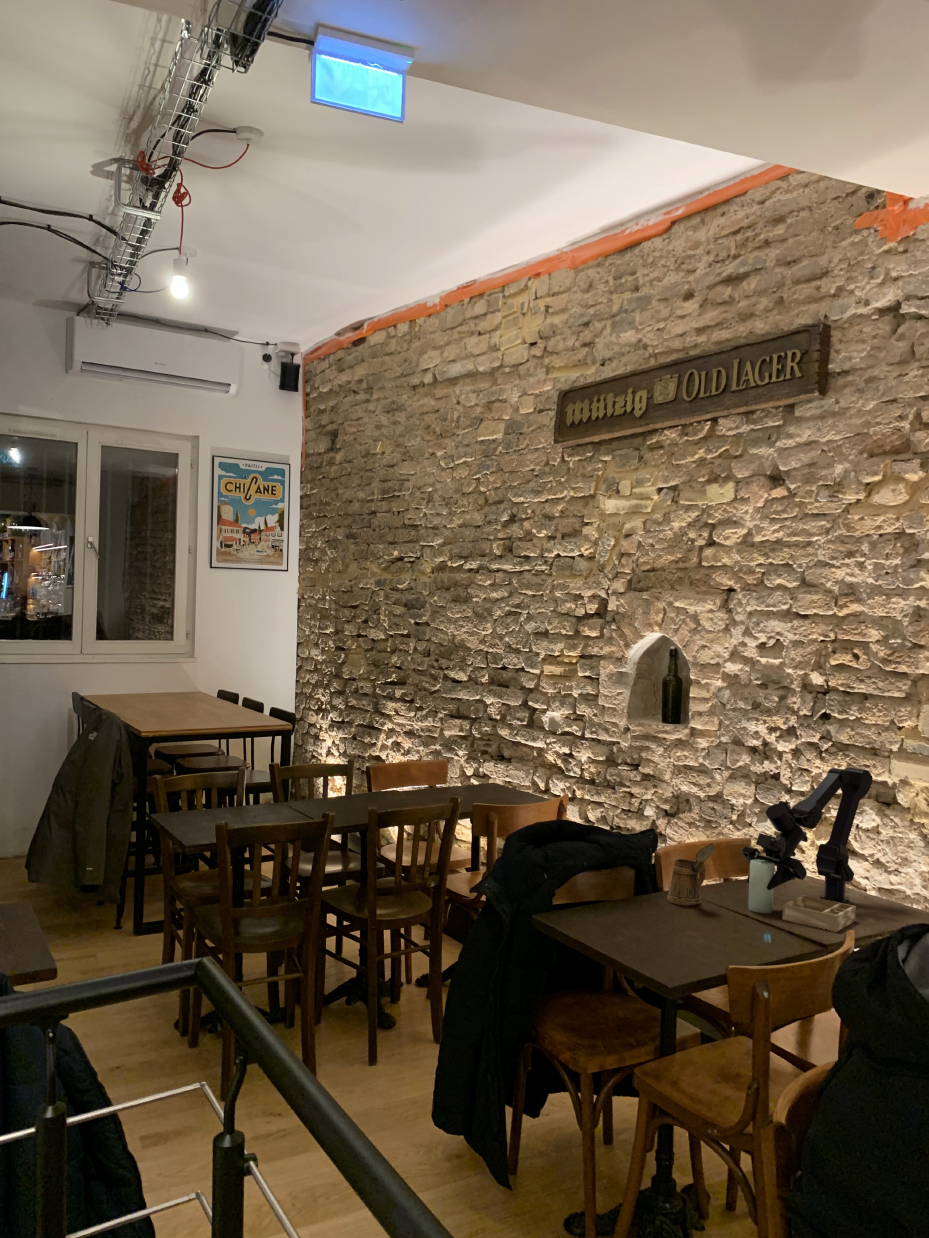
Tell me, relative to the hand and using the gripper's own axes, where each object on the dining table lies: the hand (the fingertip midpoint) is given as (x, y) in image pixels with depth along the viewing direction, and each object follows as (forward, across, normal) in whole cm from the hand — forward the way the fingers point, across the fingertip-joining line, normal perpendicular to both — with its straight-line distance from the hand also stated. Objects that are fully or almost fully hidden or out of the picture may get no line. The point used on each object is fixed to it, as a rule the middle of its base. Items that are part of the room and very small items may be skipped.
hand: (757, 885), depth 262 cm
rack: (-2, +13, +11) cm, 17 cm away
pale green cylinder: (+4, 0, +6) cm, 7 cm away
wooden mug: (+14, -12, -4) cm, 19 cm away
